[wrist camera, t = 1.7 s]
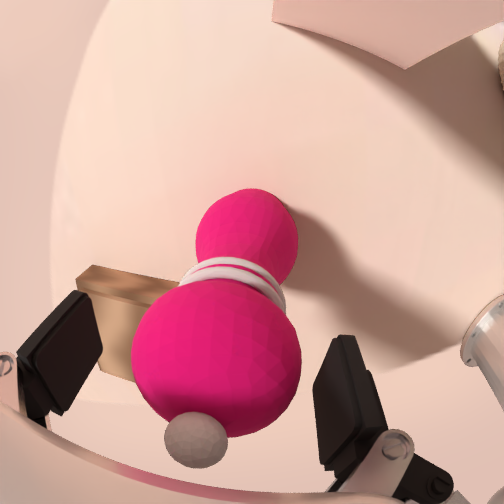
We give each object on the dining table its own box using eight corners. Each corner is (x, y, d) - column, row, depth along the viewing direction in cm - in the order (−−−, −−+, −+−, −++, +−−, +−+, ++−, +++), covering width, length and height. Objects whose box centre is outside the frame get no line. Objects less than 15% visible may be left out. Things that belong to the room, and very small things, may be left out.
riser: (212, 288, 26) (202, 312, 23) (207, 379, 32) (201, 403, 28) (92, 264, 27) (72, 281, 23) (110, 354, 32) (98, 373, 29)
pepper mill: (296, 260, 25) (318, 498, 6) (216, 264, 25) (130, 478, 7) (291, 179, 22) (360, 387, 4) (205, 186, 23) (19, 354, 4)
